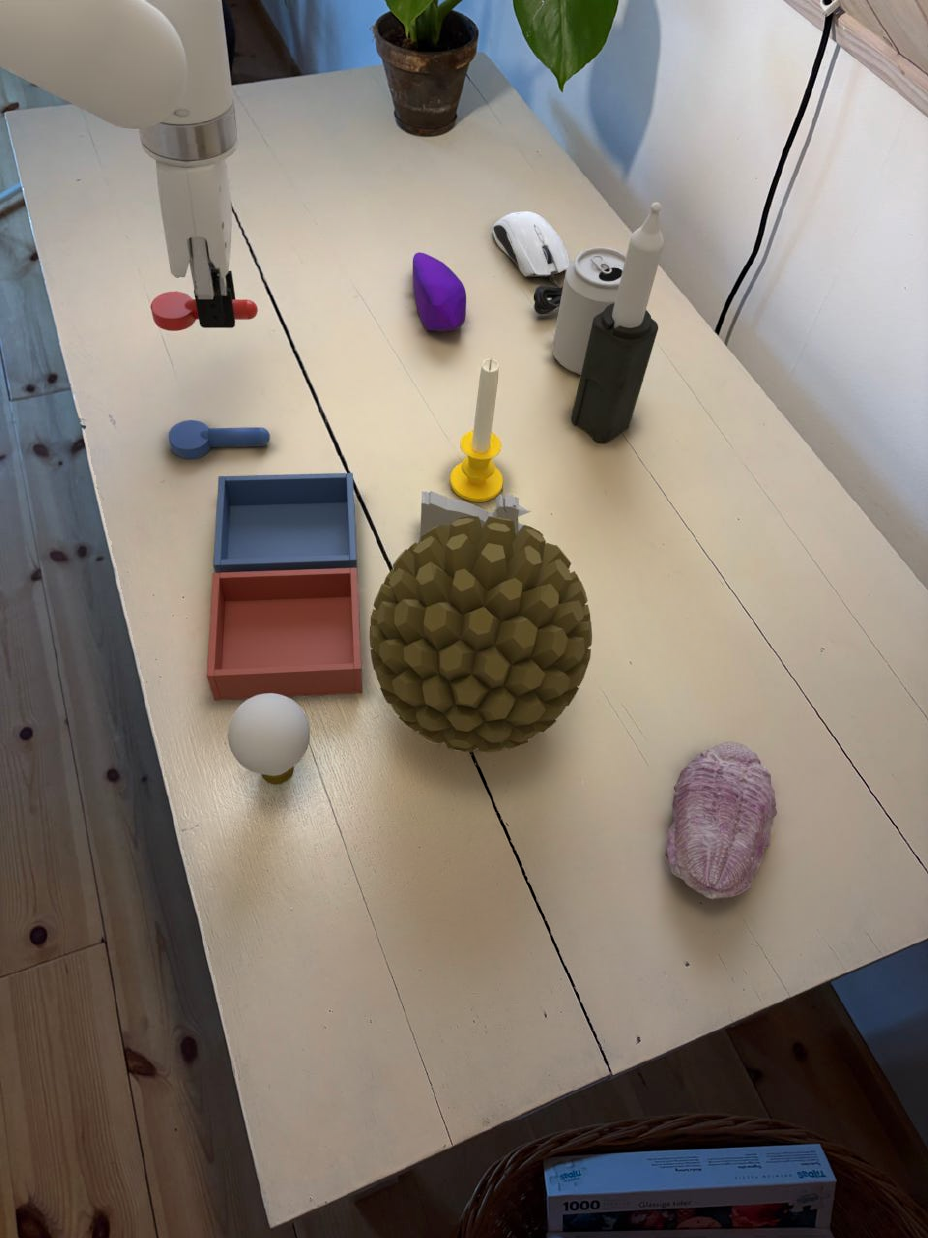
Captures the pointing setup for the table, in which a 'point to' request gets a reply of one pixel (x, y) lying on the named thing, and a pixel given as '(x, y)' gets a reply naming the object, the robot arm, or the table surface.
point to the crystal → (438, 294)
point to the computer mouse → (534, 253)
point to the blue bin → (285, 522)
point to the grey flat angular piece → (465, 511)
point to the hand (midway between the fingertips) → (218, 315)
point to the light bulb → (269, 736)
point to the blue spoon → (211, 438)
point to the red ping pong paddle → (190, 310)
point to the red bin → (284, 633)
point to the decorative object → (480, 635)
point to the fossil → (721, 820)
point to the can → (585, 301)
